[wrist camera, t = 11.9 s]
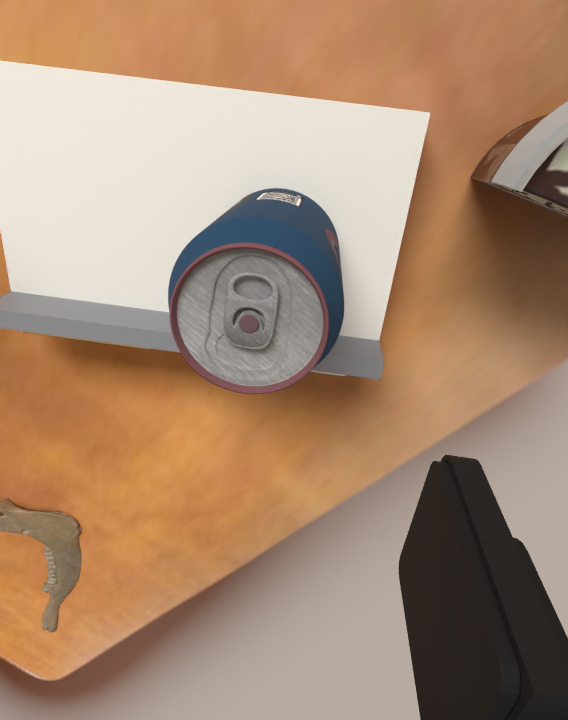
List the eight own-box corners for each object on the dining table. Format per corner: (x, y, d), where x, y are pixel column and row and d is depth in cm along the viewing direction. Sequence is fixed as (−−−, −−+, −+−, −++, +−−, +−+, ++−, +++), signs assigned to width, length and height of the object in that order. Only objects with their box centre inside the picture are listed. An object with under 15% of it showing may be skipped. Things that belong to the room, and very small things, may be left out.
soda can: (326, 312, 28) (326, 422, 18) (216, 293, 28) (150, 392, 18) (349, 196, 25) (367, 244, 14) (226, 175, 25) (152, 208, 15)
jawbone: (70, 481, 42) (60, 497, 40) (128, 619, 52) (122, 637, 50) (-24, 490, 43) (-38, 506, 41) (50, 625, 52) (42, 643, 50)
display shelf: (419, 114, 26) (443, 110, 20) (370, 343, 32) (378, 385, 27) (6, 64, 26) (-75, 48, 21) (40, 299, 33) (-16, 331, 28)
